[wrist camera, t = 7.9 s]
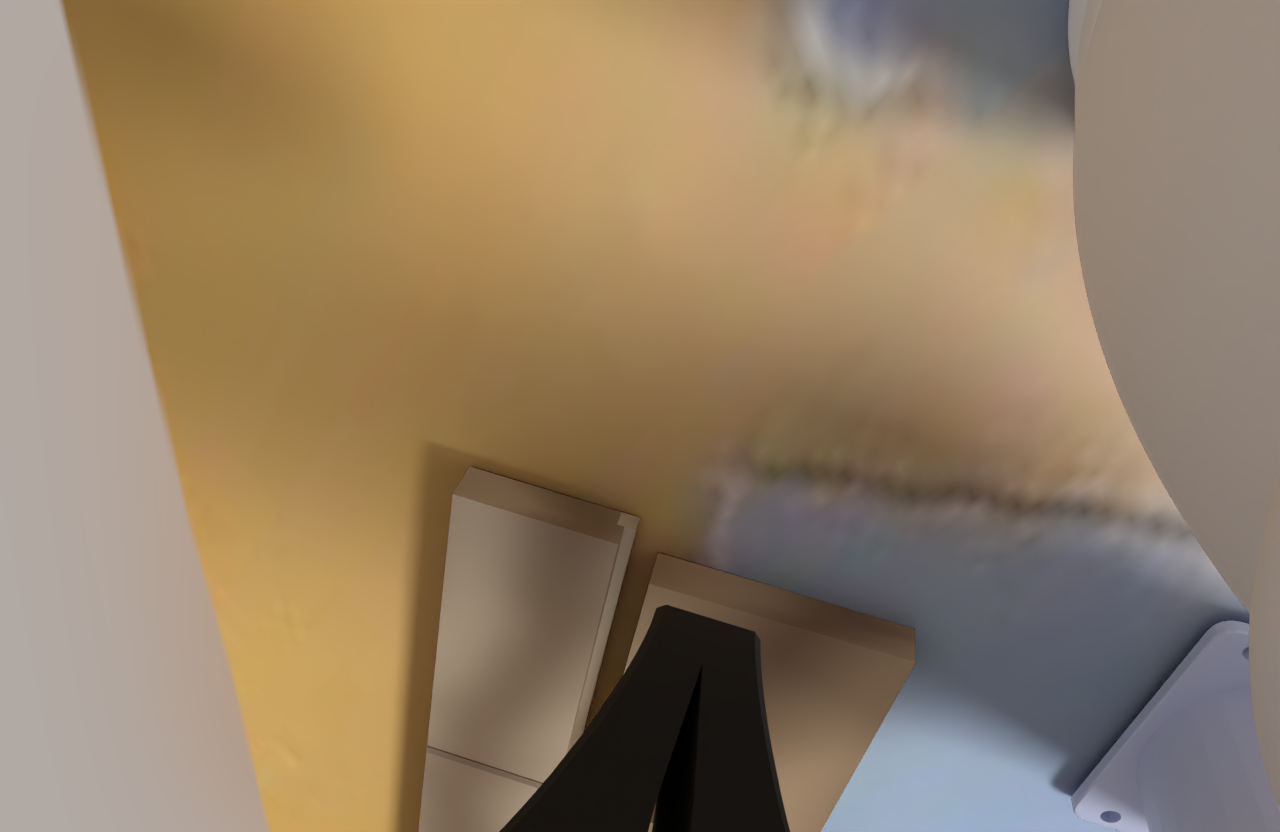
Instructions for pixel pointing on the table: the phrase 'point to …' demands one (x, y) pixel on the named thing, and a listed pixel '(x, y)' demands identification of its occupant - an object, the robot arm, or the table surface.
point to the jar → (1192, 273)
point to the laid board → (516, 644)
